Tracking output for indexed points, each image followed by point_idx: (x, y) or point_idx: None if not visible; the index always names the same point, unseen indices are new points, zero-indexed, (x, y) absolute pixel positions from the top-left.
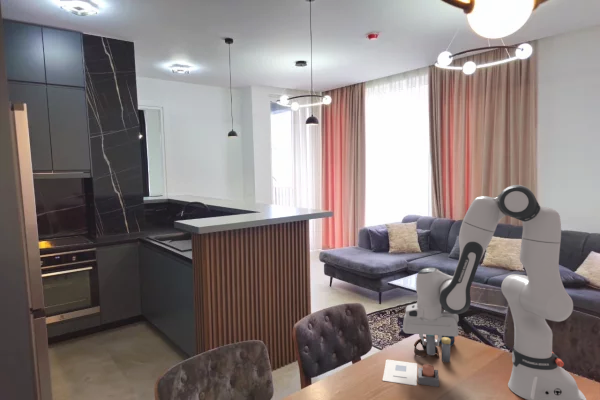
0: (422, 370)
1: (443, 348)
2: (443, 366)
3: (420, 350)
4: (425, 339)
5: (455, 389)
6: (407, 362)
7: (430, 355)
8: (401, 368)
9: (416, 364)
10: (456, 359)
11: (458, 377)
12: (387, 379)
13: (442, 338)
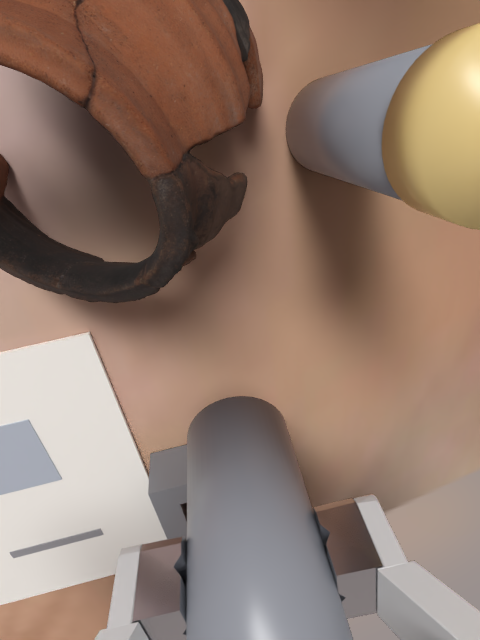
0: (185, 496)
1: (368, 185)
2: (310, 262)
3: (66, 291)
4: (169, 623)
5: (380, 483)
6: (3, 359)
7: (193, 259)
8: (11, 464)
9: (90, 353)
10: (435, 40)
11: (411, 365)
12: (3, 593)
13: (442, 144)
